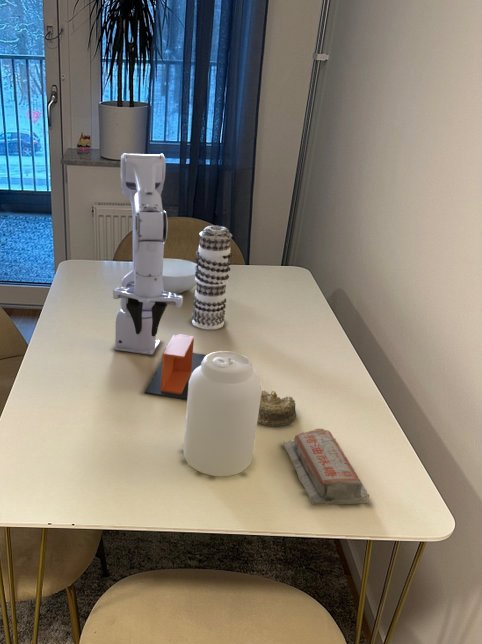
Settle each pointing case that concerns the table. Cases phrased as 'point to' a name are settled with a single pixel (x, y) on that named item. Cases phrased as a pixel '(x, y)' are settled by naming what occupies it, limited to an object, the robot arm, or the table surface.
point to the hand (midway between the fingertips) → (146, 333)
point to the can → (222, 414)
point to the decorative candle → (211, 277)
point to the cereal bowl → (178, 275)
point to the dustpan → (177, 363)
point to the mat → (155, 383)
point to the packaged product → (325, 469)
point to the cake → (276, 410)
